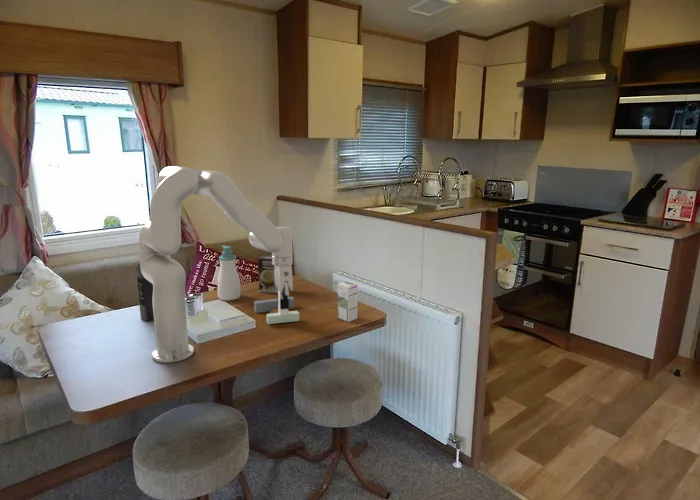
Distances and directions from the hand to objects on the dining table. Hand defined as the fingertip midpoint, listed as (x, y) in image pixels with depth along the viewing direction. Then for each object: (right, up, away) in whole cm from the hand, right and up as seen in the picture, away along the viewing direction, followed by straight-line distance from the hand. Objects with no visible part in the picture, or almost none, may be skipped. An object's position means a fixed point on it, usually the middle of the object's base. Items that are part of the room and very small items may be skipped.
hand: (283, 306), depth 172 cm
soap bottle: (-28, 0, +29) cm, 40 cm away
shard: (-2, -5, +8) cm, 10 cm away
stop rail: (-6, -3, +15) cm, 16 cm away
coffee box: (-12, +2, +38) cm, 40 cm away
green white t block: (0, -6, +1) cm, 6 cm away
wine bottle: (-52, -5, +4) cm, 52 cm away
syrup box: (+24, -6, +6) cm, 26 cm away
